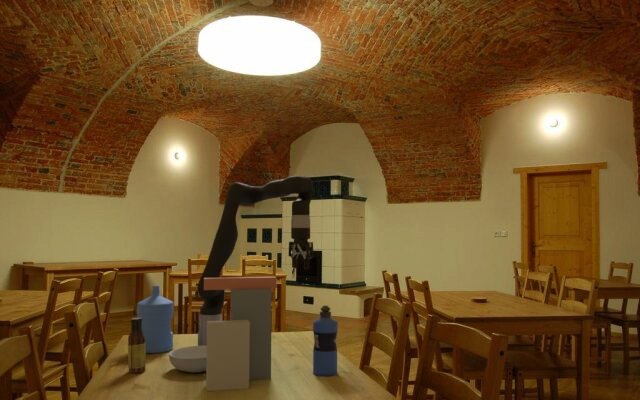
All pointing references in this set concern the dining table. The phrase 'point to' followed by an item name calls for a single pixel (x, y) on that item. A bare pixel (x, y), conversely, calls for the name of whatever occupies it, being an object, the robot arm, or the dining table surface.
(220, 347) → the stand
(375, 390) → the dining table surface
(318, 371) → the water bottle
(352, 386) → the dining table surface
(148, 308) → the water jug
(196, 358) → the serving bowl
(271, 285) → the bar
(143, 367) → the sauce bottle
